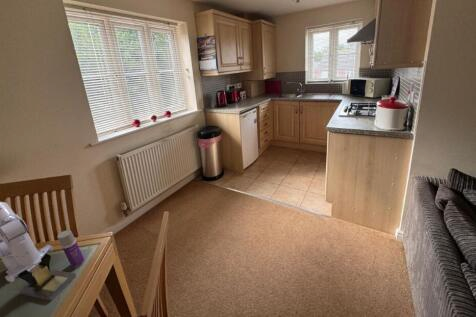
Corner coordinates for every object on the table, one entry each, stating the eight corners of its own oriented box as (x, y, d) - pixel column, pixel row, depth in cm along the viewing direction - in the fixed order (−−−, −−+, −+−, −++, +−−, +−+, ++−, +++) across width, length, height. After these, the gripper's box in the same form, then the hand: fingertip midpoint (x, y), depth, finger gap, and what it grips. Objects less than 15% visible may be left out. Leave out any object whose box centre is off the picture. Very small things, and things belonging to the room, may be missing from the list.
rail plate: (20, 294, 84) (18, 290, 83) (47, 271, 93) (45, 267, 92) (51, 301, 80) (49, 297, 80) (76, 276, 89) (74, 273, 89)
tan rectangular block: (33, 288, 86) (24, 274, 83) (45, 277, 90) (37, 264, 87) (42, 290, 85) (34, 276, 82) (54, 279, 89) (46, 265, 86)
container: (78, 268, 93) (64, 238, 87) (68, 267, 94) (53, 237, 88) (87, 259, 97) (74, 230, 91) (78, 258, 98) (64, 229, 92)
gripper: (9, 269, 74) (28, 298, 79) (53, 237, 86) (66, 264, 92) (-7, 266, 75) (13, 295, 81) (38, 235, 88) (53, 262, 94)
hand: (40, 278), depth 86 cm, fingers closed on tan rectangular block, 4 cm apart
